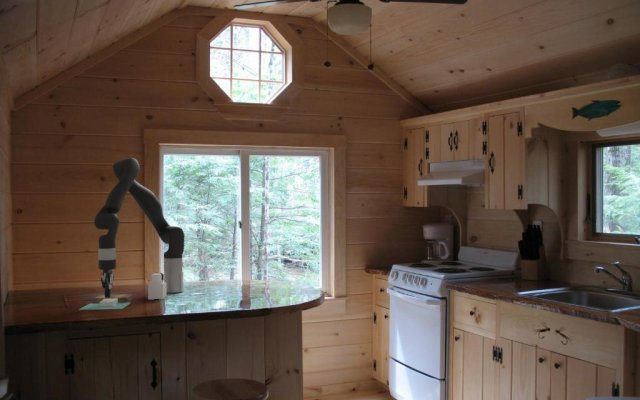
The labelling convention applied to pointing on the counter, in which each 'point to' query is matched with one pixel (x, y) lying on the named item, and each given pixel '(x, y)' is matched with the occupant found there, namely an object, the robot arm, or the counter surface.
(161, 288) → the medicine bottle
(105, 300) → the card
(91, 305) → the mat
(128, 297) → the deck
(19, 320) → the counter surface
